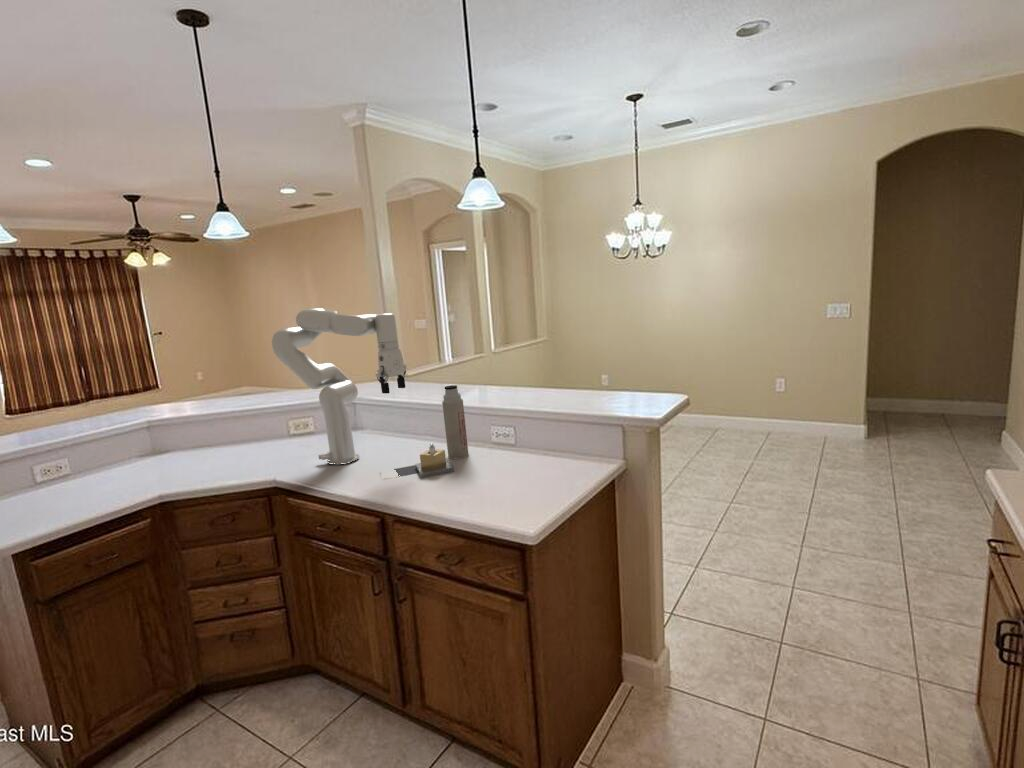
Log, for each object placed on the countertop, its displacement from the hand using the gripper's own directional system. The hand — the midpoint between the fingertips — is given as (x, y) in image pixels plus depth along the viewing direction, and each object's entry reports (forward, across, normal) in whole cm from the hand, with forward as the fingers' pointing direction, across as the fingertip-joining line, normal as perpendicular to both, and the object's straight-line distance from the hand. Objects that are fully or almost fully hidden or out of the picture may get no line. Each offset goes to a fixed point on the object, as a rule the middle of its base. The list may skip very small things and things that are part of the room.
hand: (394, 390), depth 203 cm
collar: (+26, -7, -20) cm, 34 cm away
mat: (+28, -12, -8) cm, 32 cm away
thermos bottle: (+28, +11, -19) cm, 36 cm away
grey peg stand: (+28, -7, -20) cm, 35 cm away
